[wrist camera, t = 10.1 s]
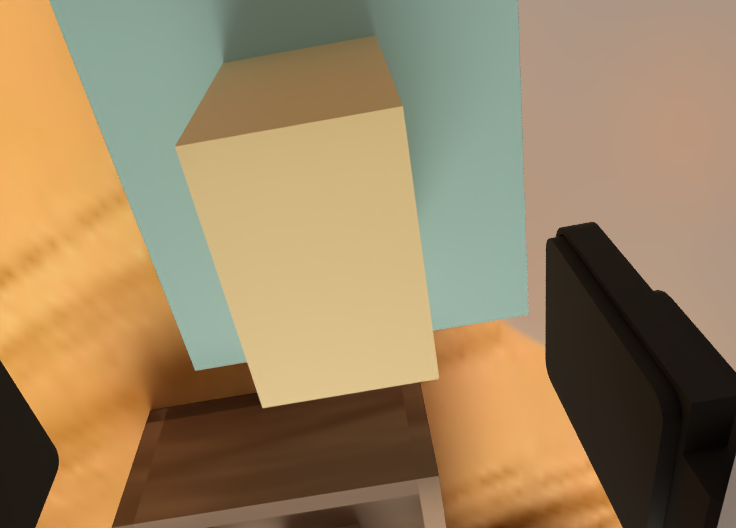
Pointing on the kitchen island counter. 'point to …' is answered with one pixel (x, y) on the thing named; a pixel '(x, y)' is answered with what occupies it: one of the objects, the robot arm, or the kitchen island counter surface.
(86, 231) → the kitchen island counter surface
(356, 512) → the box
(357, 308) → the lid
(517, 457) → the kitchen island counter surface
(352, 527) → the beech cube
